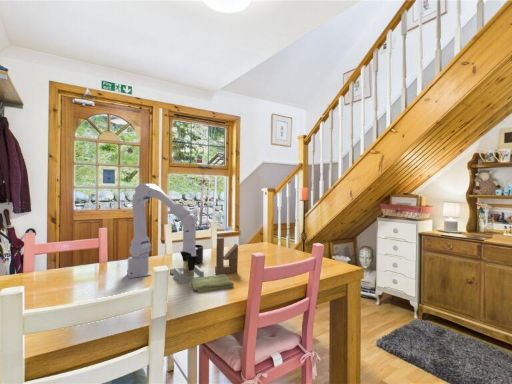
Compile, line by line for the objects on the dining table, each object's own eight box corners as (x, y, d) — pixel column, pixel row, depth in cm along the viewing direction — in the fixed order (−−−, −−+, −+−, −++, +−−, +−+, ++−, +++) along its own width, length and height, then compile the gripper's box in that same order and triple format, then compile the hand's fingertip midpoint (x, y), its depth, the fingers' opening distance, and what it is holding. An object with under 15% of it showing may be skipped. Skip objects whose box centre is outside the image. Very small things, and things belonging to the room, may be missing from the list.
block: (185, 276, 131) (185, 263, 130) (183, 273, 134) (183, 261, 134) (194, 275, 133) (194, 262, 132) (191, 272, 136) (191, 260, 136)
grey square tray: (180, 283, 126) (180, 274, 126) (173, 276, 135) (174, 268, 135) (203, 280, 131) (204, 271, 131) (196, 273, 141) (196, 265, 141)
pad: (171, 275, 137) (171, 273, 137) (168, 271, 143) (168, 269, 143) (191, 272, 142) (191, 270, 142) (187, 268, 148) (187, 267, 148)
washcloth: (188, 283, 127) (188, 276, 127) (226, 279, 134) (226, 272, 134) (194, 294, 115) (194, 286, 115) (235, 288, 122) (235, 281, 122)
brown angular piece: (237, 273, 143) (238, 237, 143) (217, 275, 138) (217, 238, 138) (235, 271, 146) (235, 236, 146) (214, 273, 142) (215, 237, 141)
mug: (190, 266, 152) (190, 249, 152) (183, 261, 163) (183, 245, 163) (206, 264, 157) (207, 248, 157) (199, 259, 168) (199, 244, 167)
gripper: (202, 241, 129) (202, 271, 129) (192, 236, 141) (192, 263, 141) (187, 242, 125) (187, 273, 125) (178, 237, 138) (178, 265, 138)
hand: (188, 268), depth 133 cm, fingers open, 7 cm apart
